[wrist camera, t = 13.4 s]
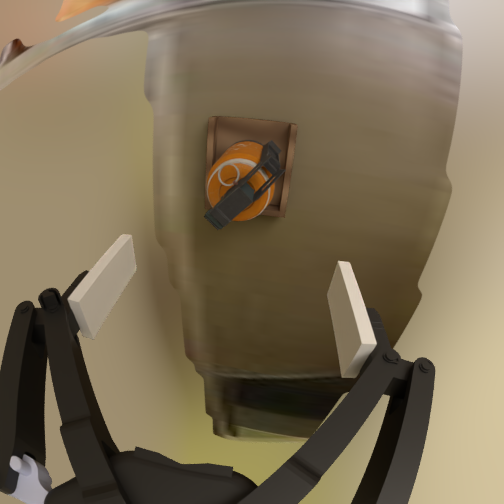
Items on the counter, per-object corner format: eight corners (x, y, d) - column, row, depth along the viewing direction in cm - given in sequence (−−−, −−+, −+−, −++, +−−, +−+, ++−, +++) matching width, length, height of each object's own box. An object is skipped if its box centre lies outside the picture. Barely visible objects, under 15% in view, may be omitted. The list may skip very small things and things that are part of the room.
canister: (212, 162, 47) (176, 204, 30) (259, 120, 43) (249, 135, 26) (247, 198, 50) (232, 257, 33) (294, 159, 46) (307, 199, 29)
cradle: (213, 116, 44) (208, 117, 40) (295, 123, 43) (297, 125, 40) (209, 200, 52) (204, 208, 49) (283, 208, 52) (284, 217, 48)
